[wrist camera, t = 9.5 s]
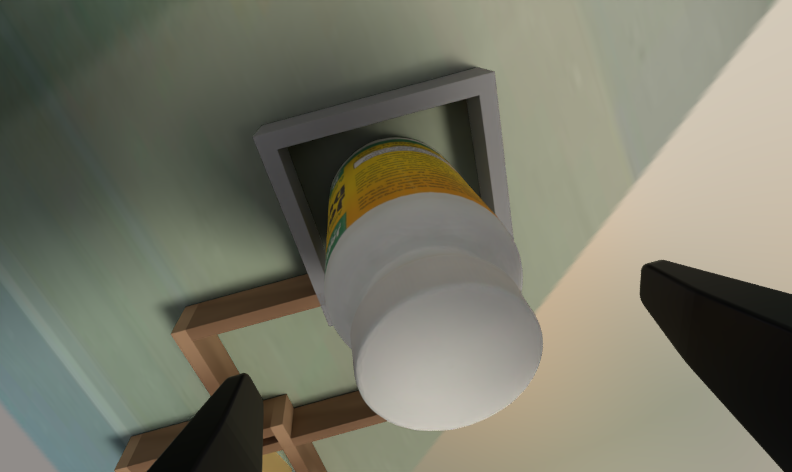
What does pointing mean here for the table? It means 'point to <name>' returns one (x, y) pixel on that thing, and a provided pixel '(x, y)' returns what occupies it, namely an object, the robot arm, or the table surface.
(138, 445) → the frame
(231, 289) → the table surface
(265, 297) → the frame
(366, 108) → the frame
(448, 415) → the supplement bottle
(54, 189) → the table surface
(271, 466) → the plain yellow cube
